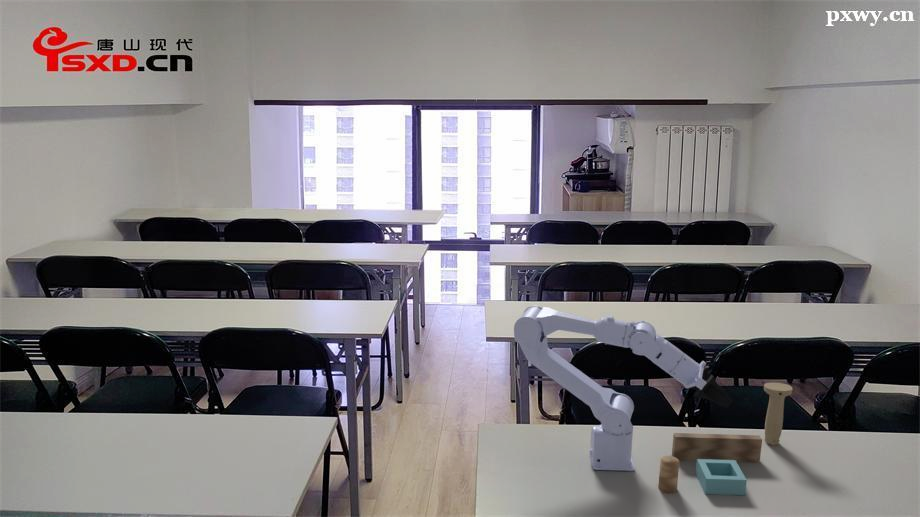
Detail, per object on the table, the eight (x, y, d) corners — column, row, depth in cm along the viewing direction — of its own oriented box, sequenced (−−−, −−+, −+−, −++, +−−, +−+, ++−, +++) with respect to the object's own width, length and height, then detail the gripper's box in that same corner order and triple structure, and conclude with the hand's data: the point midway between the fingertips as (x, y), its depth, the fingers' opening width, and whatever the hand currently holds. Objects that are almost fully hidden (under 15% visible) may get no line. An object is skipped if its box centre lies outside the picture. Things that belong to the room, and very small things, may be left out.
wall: (673, 460, 191) (675, 436, 190) (671, 455, 193) (673, 432, 191) (759, 462, 190) (762, 439, 189) (756, 458, 192) (759, 435, 191)
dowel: (660, 493, 177) (662, 464, 175) (656, 483, 181) (658, 455, 179) (678, 494, 177) (681, 465, 175) (674, 484, 181) (677, 456, 179)
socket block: (704, 493, 177) (706, 478, 176) (695, 473, 185) (697, 459, 184) (744, 495, 176) (746, 480, 175) (733, 474, 185) (735, 460, 184)
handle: (787, 448, 197) (794, 391, 193) (760, 446, 198) (766, 390, 194) (782, 439, 202) (789, 383, 198) (755, 437, 202) (762, 381, 198)
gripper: (691, 353, 172) (744, 392, 170) (683, 344, 186) (732, 380, 185) (670, 379, 173) (723, 419, 171) (664, 368, 187) (713, 405, 185)
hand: (726, 400), depth 178 cm, fingers open, 7 cm apart
